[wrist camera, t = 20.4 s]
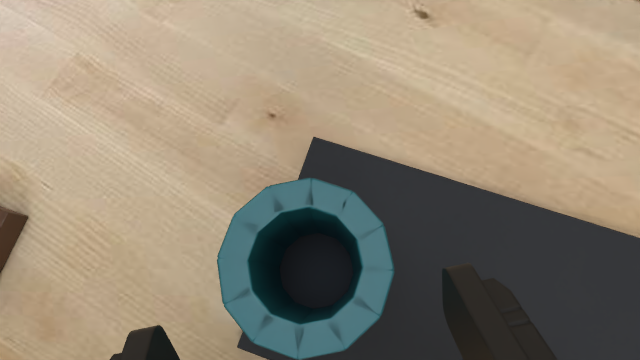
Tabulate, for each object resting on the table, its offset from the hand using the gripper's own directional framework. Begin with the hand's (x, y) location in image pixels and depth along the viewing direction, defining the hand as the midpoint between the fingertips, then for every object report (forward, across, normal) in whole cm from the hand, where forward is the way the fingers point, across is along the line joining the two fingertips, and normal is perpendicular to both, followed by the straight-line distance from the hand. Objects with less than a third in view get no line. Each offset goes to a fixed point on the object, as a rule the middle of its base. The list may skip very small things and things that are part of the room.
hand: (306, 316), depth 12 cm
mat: (+6, -7, +9) cm, 13 cm away
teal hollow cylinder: (+8, 0, +6) cm, 10 cm away
